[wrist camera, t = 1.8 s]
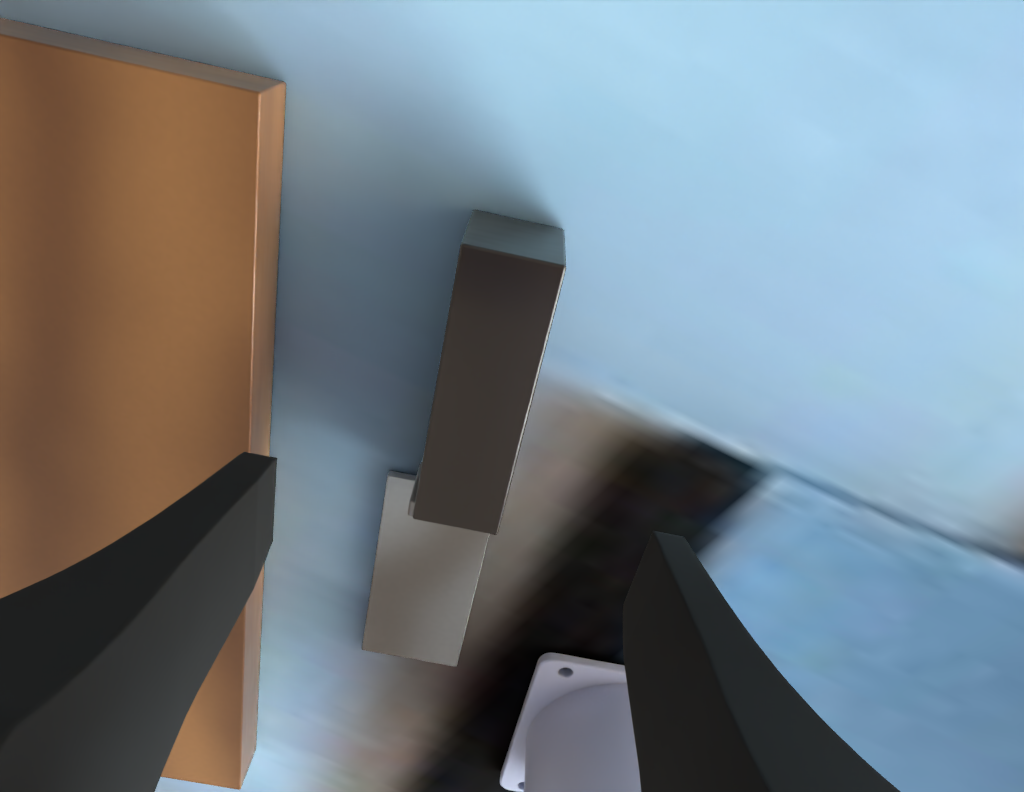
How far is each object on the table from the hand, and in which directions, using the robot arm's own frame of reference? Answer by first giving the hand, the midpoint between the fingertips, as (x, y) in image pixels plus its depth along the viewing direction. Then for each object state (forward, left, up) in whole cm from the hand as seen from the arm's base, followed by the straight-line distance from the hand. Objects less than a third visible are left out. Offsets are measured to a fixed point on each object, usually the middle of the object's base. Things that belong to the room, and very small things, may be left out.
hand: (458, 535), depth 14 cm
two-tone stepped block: (+1, +4, -8) cm, 9 cm away
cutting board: (+11, +7, -8) cm, 16 cm away
